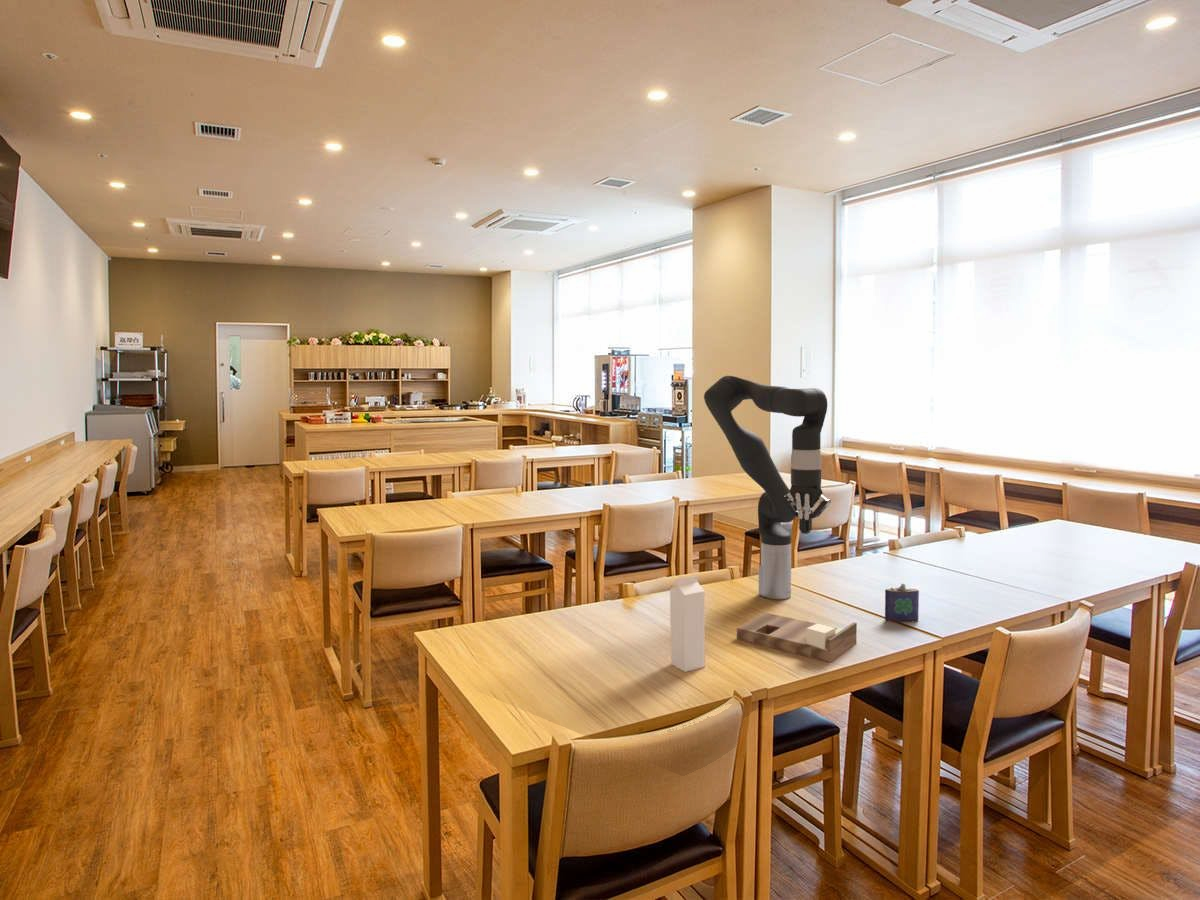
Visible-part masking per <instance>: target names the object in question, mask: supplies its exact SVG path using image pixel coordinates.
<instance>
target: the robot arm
mask: <svg viewBox="0 0 1200 900" xmlns="http://www.w3.org/2000/svg"><path fill="white" fill-rule="evenodd" d="M703 399H704V402H705V405H706V408H707V409H708V411H709V413H710V414H711V415H712V417H713V418H714V420H715V422H716V423H717V425H718V426H719V428H720V429H721V431H722V432H723V434H724V436H725V438H726V440H727V442H728V443H729V444H730V447H731V449H732V452H733V453H734V455H735V457H736V459H737V461H738V463H739V465H740V467H741V468H742V470H743V471H744V473H746V475H748V477H750V478H751V480H753V481H754V482H755V483H757V484H758V486H760V487H761V488H762V489H763V490H764V492H763V493H762V494H761V496H760V497H759V498H758V499H759V500H758V503H757V518H758V519H757V521H758V523H757V524H758V533H759V536H760V540H761V541H760V543H761V544H760V548H761V549H760V553H761V554H760V555H761V558H760V565H758V595H759V596H762V597H764V598H765V597H766V599H768V600H769V599H771V600H787V599H789V598H791V597H792V534H791V533H790V532H789V531H788V530H786V528H784V527H783V525H782V523H785V524H786V523H790V522H793V521H794V520H795V519H796V518H798V524H799V525H798V530H799V531H800V533H801V534H802V535H803V534H804V535H808V534H810V533H811V531H812V530H813V528H812V527H813V519H816V518H817V517H818V518H819V517H820V516H821V514H822V513H824V511H825V510H826V508H827V507H828V506H829V505H830V504H831V501H832V500H831V499H830V498H827V497H826V496H824V495H823V494H824V493H823V490H822V488H821V487H822V466H823V463H822V452H821V451H822V449H821V444H822V443H821V432H822V429H823V427H824V423H825V420H826V419H825V418H826V416H827V415H826V414H827V412H828V398H827V395H826V393H825V392H824V391H823V390H821V388H817V387H812V388H811V387H810V388H809V387H808V388H790V387H786V386H780V385H779V386H778V385H777V386H776V385H766V384H761V383H759V382H758V383H757V382H755V381H751V380H749V379H744V378H741V377H738V376H734V375H724V376H722V377H721V378H719V379H718V380H717V381H716V382H715V383H714V384H712V385H711V386H710V387H709V388H708V389H707V390H705V392H704V394H703ZM745 400H752V402H753V403H754V405H755V406H756V407H757V408H758V409H760V410H762V411H764V412H769V413H775V414H776V413H777V414H784V415H787V416H791V417H797V418H798V417H803V421H802V423H800V424H799V425H796V426H795V427H793V429H792V432H791V433H792V434H791V455H790V488H789V486H787V484H786V483H785V481H784V479H783V478H782V476H781V473H780V472H779V470H778V468H777V466H776V465H775V463H774V461H773V459H772V457H771V454H770V452H769V450H768V448H767V446H766V444H765V442H764V441H763V439H762V438H761V437H760V435H758V434H756V432H753V431H751V430H749V429H747V428H746V427H743V426H741V425H740V424H739V423H738V422H737V421H736V419H735V418H734V416H733V414H732V411H733V410H735V408H737V407H738V406H739V405H740V404H741V403H742V402H743V401H745ZM817 503H818V506H817V507H816V508H815V506H816V504H817Z"/></svg>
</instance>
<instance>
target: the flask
mask: <svg viewBox="0 0 1200 900" xmlns="http://www.w3.org/2000/svg"><path fill="white" fill-rule="evenodd" d="M884 593H885V594H884V595H885V596H884V598H885V599H884V600H885V601H884V621H885V620H886V621H885V622H887V621H891V622H890V623H913V622H912V621H916V622H919V607H920V606H919V605H920V604H919V601H920V600H919V599H920V598H919V597H920V590H919V589H917V588H907V587H906V584H905V583H900V586H899V587H894V588H893V587H892V586H891V587H890V588H886V589H885V591H884Z"/></svg>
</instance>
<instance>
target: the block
mask: <svg viewBox="0 0 1200 900" xmlns="http://www.w3.org/2000/svg"><path fill="white" fill-rule="evenodd" d="M833 627H834V626H830V627H829V626H828V625H824V624H821V623H818V622H817V623H816V624H815V625H813V626H811V627H808V628H807V644H809V645H812V646H816V647H819V648H823V649H826V648H827V640H828V639H829V638H831V637H832V636H834V635H835V628H836V627H834V628H833Z"/></svg>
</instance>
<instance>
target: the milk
mask: <svg viewBox="0 0 1200 900" xmlns="http://www.w3.org/2000/svg"><path fill="white" fill-rule="evenodd" d="M669 593H670V594H669V598H670V599H669V601H670V603H669V604H670V605H669V607H670V612H669V613H670V618H669V621H670V664H671V665H672V666H674V667H675V668H677V669H678V670H681V671H683V672H684V673H687V672H690V671H694V670H698V669H703V668H705V667H706V654H705V653H706V640H705V639H706V633H705V631H706V623H705V621H706V618H705V617H706V613H705V612H706V611H705V610H706V609H705V608H706V607H705V590H704V588H703V586H701V585H700V583H699V582H698V576H697V575H691V576H686V577H681V578H677V579H676V585H675V586H673V587H671V588H670V589H669Z"/></svg>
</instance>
